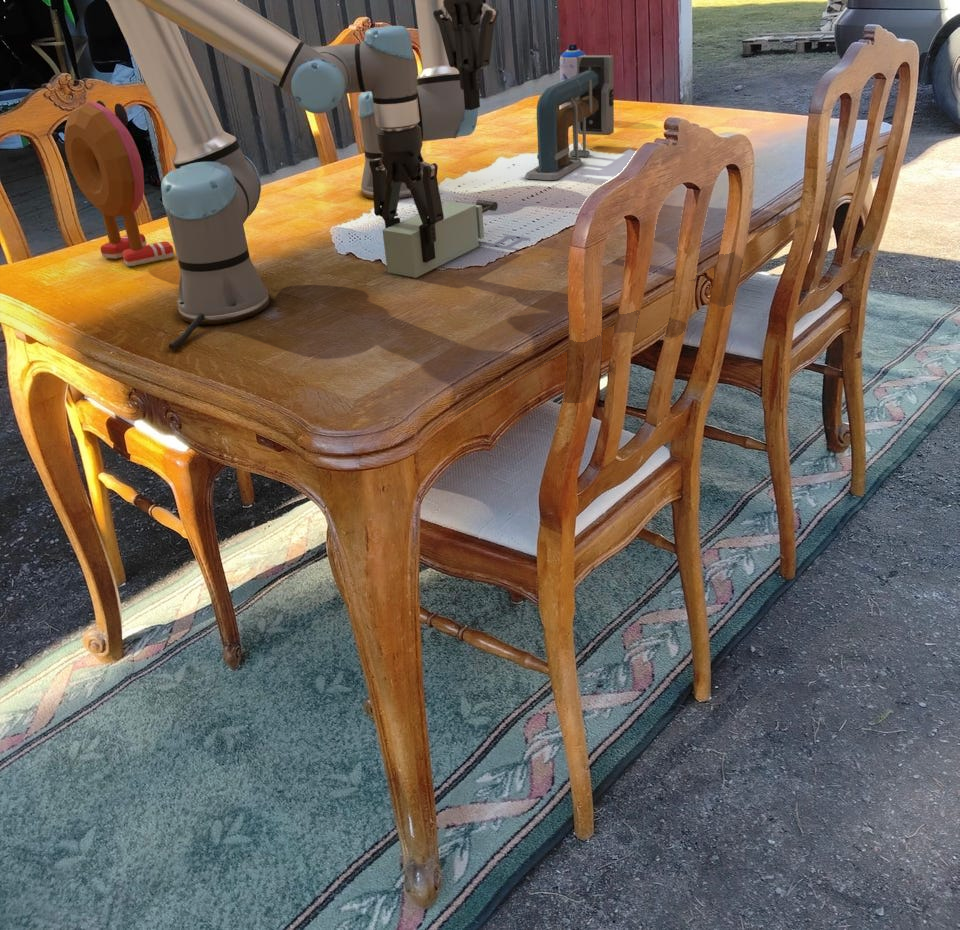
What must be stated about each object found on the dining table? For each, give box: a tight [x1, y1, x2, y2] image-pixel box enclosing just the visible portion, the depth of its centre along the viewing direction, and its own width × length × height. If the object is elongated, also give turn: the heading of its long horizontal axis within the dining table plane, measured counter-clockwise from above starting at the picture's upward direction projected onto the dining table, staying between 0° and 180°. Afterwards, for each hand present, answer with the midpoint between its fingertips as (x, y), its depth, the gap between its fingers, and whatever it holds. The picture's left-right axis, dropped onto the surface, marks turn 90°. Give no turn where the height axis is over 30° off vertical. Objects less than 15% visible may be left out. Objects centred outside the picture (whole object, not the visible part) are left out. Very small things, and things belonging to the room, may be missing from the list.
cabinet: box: [382, 201, 480, 279], centre depth 179 cm, size 19×7×8 cm, turn 144°
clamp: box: [524, 54, 615, 181], centre depth 231 cm, size 35×9×21 cm, turn 151°
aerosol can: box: [559, 43, 586, 109], centre depth 273 cm, size 8×8×20 cm
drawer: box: [461, 199, 499, 240], centre depth 183 cm, size 24×6×6 cm, turn 144°
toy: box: [64, 100, 175, 267], centre depth 188 cm, size 21×10×30 cm, turn 47°
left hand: (413, 257), depth 176 cm, fingers closed on cabinet, 7 cm apart
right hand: (472, 108), depth 179 cm, fingers closed
